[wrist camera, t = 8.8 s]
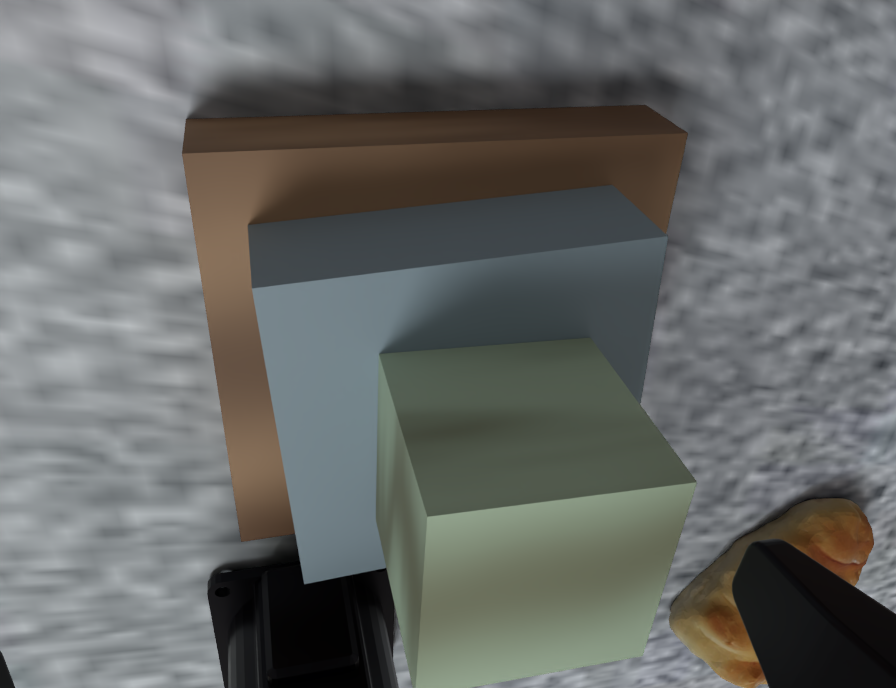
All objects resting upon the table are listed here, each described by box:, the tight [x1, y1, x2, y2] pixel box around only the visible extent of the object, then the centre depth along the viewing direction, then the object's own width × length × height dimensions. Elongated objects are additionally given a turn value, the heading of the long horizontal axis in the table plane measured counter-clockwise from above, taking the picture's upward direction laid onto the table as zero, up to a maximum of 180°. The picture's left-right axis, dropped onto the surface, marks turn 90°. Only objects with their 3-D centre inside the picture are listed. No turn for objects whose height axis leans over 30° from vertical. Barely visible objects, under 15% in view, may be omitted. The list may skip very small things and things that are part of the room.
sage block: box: [376, 338, 697, 688], centre depth 17 cm, size 5×5×5 cm
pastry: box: [669, 498, 874, 688], centre depth 33 cm, size 9×7×4 cm
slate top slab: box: [248, 185, 668, 584], centre depth 20 cm, size 9×9×3 cm
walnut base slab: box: [182, 105, 688, 542], centre depth 22 cm, size 12×12×3 cm
